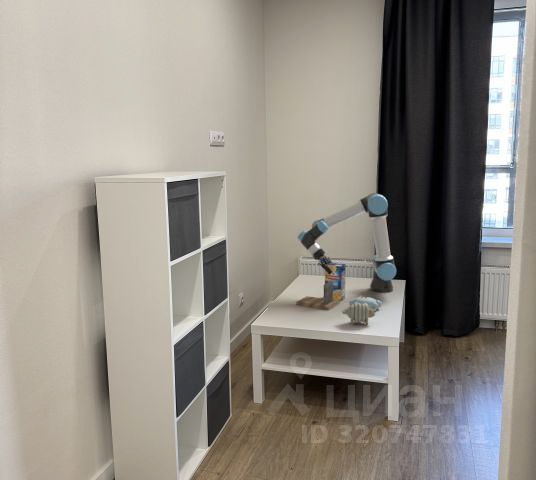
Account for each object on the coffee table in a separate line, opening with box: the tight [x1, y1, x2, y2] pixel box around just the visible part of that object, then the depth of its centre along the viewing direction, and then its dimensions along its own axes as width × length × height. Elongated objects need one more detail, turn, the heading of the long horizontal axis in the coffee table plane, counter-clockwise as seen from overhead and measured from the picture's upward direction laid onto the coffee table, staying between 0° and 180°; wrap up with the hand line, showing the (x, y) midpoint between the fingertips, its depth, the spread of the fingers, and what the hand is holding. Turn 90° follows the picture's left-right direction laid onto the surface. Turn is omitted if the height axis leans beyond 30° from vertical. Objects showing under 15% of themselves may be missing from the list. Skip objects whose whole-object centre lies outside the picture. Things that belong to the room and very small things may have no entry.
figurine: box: [349, 295, 382, 312], centre depth 309 cm, size 17×8×20 cm
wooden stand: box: [295, 281, 340, 311], centre depth 320 cm, size 22×14×14 cm, turn 59°
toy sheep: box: [342, 303, 375, 326], centre depth 285 cm, size 11×17×11 cm, turn 89°
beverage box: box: [324, 262, 347, 302], centre depth 330 cm, size 7×11×22 cm, turn 60°
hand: (340, 280), depth 328 cm, fingers closed on beverage box, 2 cm apart
